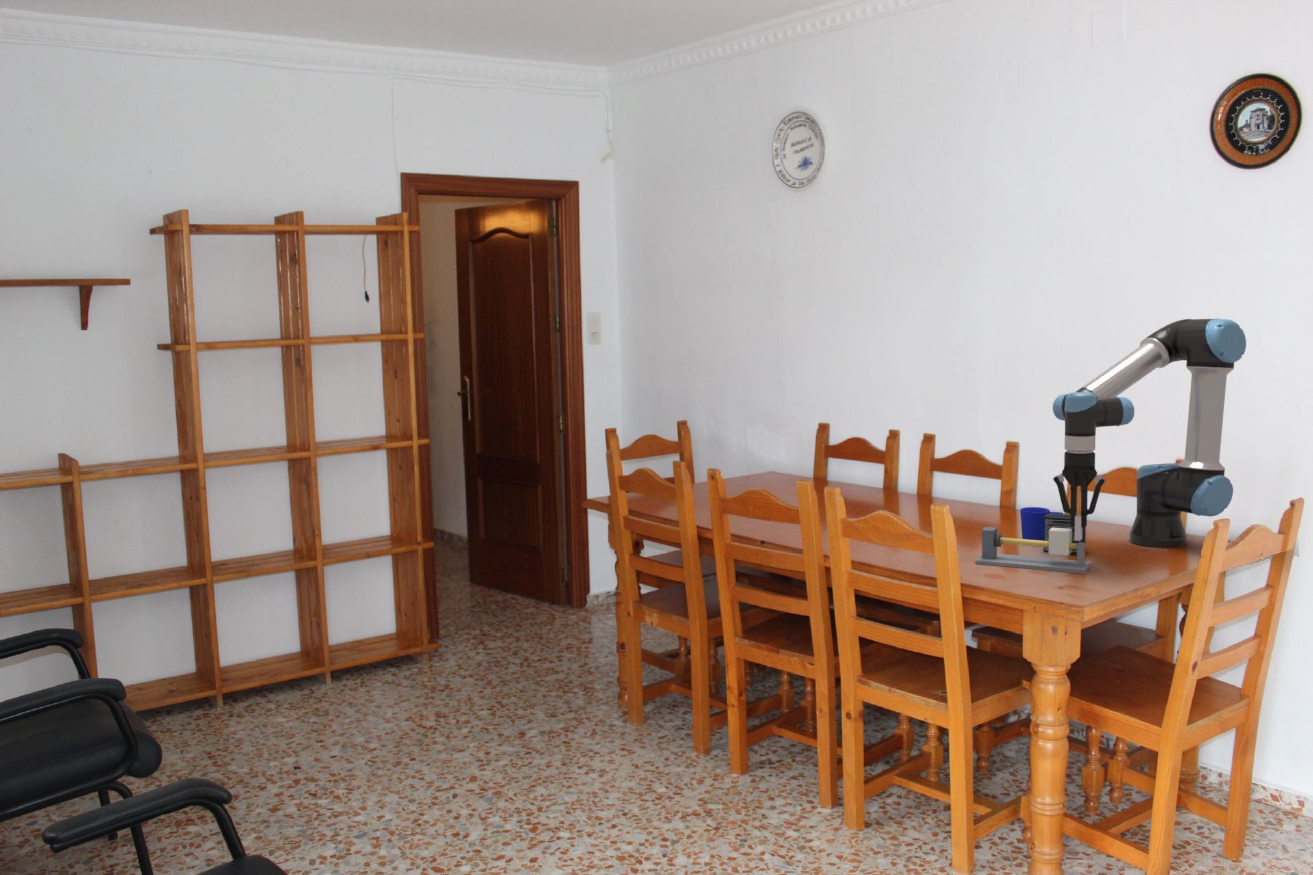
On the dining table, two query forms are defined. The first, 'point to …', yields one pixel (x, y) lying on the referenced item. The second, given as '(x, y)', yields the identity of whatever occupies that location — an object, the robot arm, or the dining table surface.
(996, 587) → the dining table surface
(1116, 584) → the dining table surface
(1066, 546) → the sleeve
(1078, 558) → the cord stand
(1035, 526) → the mug
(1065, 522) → the small box
